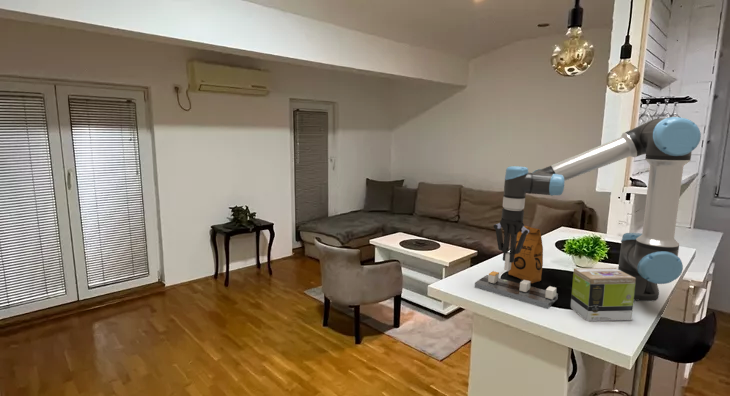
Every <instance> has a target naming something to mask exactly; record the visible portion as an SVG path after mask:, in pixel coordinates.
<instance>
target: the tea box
mask: <svg viewBox="0 0 730 396" xmlns="http://www.w3.org/2000/svg"><path fill="white" fill-rule="evenodd" d="M635 283H636V278H635V277H633V276H631V275H629V274H626V273H624V272H622V271H620V270H618V268H617V267H588V268H581V267H580V268H576V267H575V268H573V274H572V287H571V295H570V297H571V298H570V308H571V310H573V311H574V312H575V313H576V314H577V315H579V316H580V317H581V318H582V319H584V320H585V321H587V322H589V321H590V322H591V321H593V322H596V321H597V322H599V321H600V322H601V321H609V322H610V321H632V319H633V311H634V310H633V309H634V302H635V300H634V293H635Z"/></svg>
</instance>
